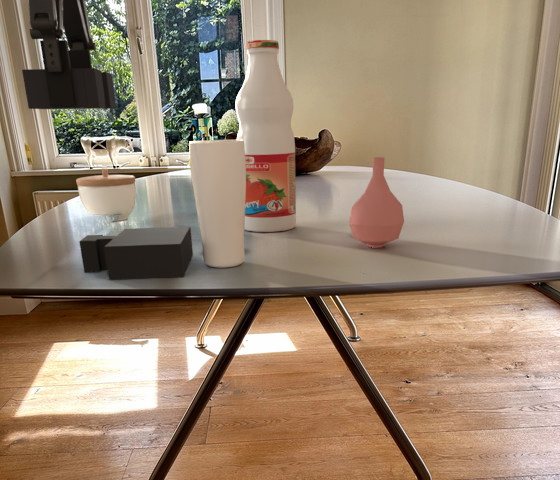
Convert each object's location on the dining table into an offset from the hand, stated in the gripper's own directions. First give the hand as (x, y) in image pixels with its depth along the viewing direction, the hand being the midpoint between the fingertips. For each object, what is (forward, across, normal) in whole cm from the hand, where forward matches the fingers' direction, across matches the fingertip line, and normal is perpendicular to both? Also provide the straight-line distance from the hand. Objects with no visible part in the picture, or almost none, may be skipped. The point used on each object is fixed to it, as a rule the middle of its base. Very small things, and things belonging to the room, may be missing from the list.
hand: (75, 106), depth 73 cm
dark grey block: (0, 0, 0) cm, 0 cm away
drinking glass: (+19, -4, -17) cm, 26 cm away
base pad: (+19, -3, -6) cm, 20 cm away
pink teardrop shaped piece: (+19, +4, -39) cm, 43 cm away
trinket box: (+20, +38, +6) cm, 43 cm away
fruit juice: (+19, +22, -24) cm, 38 cm away
